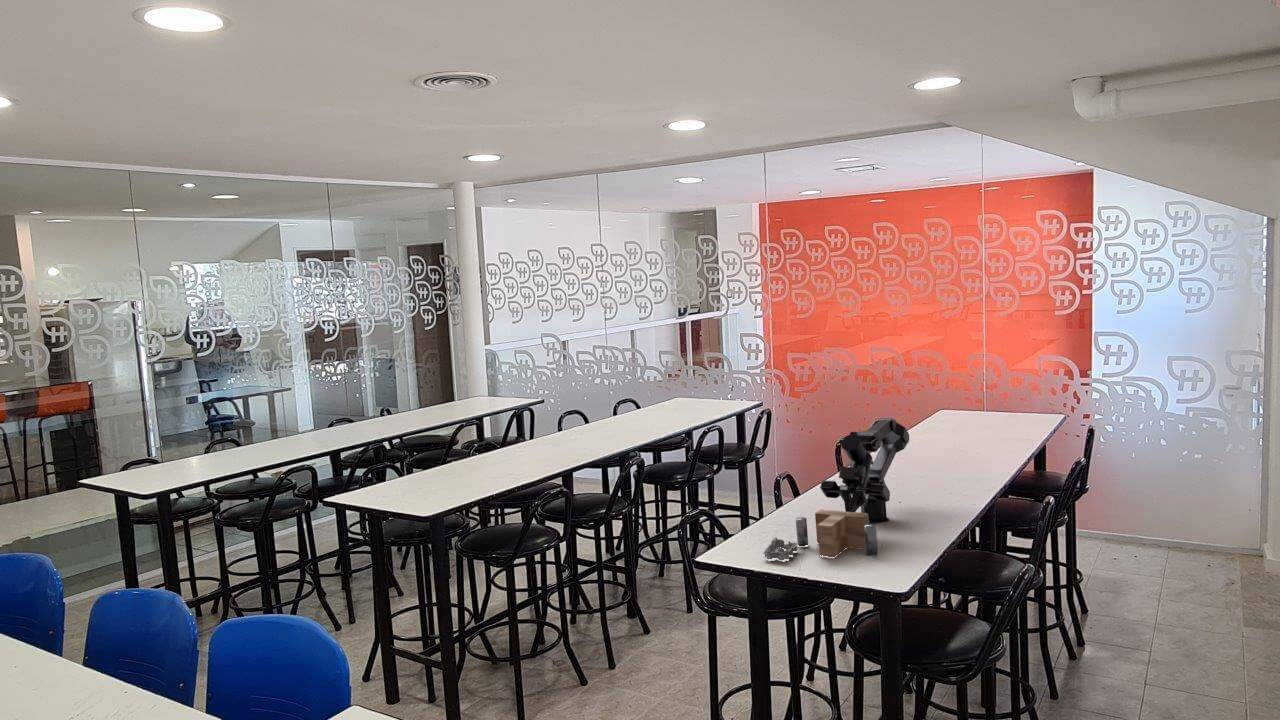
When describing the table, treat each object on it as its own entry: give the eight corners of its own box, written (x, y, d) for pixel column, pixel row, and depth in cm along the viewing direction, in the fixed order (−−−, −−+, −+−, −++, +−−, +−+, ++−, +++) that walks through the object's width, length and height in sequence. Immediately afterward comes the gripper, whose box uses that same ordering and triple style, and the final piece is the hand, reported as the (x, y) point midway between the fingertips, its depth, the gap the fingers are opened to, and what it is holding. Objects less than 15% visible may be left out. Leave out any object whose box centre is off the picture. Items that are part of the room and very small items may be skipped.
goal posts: (800, 544, 242) (798, 516, 242) (879, 552, 229) (877, 523, 228) (796, 547, 240) (793, 519, 239) (875, 556, 227) (873, 527, 226)
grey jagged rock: (776, 550, 240) (775, 536, 240) (802, 552, 236) (800, 538, 236) (761, 562, 232) (759, 547, 231) (786, 564, 227) (785, 549, 227)
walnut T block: (823, 540, 244) (820, 509, 243) (870, 545, 236) (868, 513, 235) (802, 555, 233) (800, 523, 232) (851, 561, 225) (849, 528, 224)
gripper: (820, 453, 250) (807, 499, 242) (882, 456, 239) (871, 504, 231) (832, 473, 257) (820, 519, 249) (893, 477, 246) (883, 525, 238)
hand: (847, 516), depth 241 cm, fingers closed
